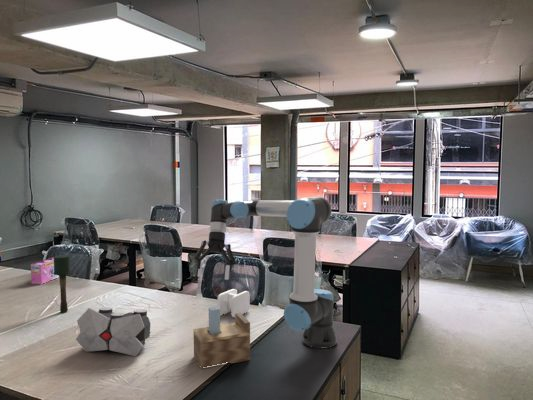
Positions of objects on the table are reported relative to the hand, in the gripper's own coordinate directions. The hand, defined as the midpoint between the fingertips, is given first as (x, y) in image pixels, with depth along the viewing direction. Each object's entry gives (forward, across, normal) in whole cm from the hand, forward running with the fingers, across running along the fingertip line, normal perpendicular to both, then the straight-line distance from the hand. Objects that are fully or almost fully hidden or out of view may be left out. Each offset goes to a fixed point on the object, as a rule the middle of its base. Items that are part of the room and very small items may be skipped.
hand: (213, 278), depth 193 cm
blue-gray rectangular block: (+28, +4, +17) cm, 33 cm away
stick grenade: (+20, +51, -74) cm, 92 cm away
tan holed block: (+23, +2, +19) cm, 30 cm away
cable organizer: (+15, -25, -25) cm, 39 cm away
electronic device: (+32, +35, -15) cm, 50 cm away
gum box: (+1, +57, -146) cm, 156 cm away
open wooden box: (+33, 0, +16) cm, 36 cm away
